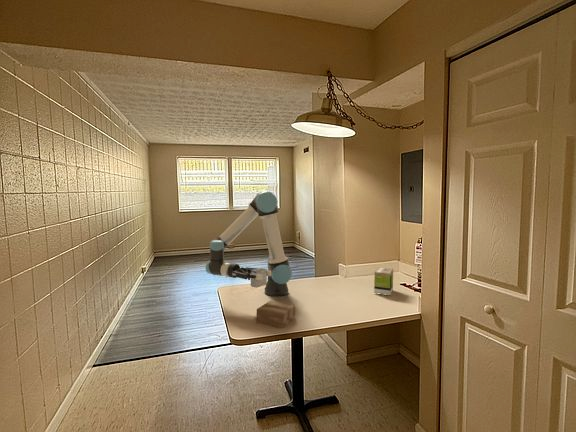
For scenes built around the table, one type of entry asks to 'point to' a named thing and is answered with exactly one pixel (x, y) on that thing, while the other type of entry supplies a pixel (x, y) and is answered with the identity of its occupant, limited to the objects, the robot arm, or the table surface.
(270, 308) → the walnut block
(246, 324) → the table surface
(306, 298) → the table surface
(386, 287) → the tea box
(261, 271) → the medicine box
